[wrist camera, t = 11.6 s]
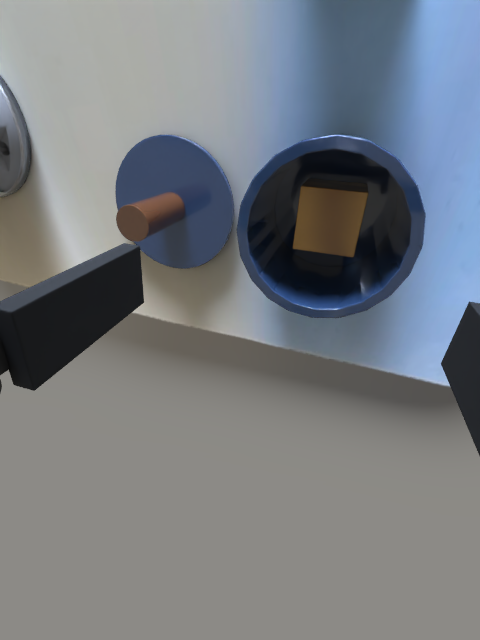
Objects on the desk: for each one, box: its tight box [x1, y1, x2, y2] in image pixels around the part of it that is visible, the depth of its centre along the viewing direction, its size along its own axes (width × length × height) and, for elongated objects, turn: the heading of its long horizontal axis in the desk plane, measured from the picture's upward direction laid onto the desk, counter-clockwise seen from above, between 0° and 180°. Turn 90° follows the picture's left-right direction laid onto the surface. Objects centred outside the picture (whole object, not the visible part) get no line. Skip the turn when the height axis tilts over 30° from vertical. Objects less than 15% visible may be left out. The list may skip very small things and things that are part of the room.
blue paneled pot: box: [237, 134, 425, 318], centre depth 28 cm, size 13×13×10 cm
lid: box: [116, 135, 234, 268], centre depth 33 cm, size 14×14×9 cm
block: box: [293, 178, 369, 257], centre depth 30 cm, size 5×5×5 cm
